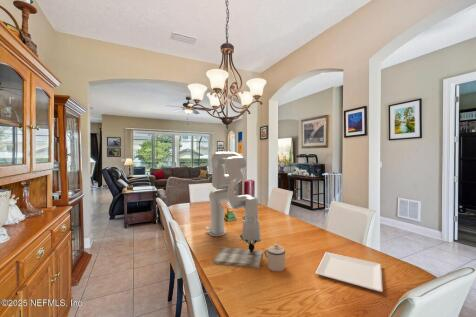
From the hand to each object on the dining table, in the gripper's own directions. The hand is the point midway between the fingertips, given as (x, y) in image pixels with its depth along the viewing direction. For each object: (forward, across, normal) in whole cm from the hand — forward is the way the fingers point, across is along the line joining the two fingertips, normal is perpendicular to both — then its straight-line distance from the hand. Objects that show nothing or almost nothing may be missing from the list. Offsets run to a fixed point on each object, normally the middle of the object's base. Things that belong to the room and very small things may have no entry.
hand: (251, 250), depth 124 cm
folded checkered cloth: (+2, -6, -1) cm, 6 cm away
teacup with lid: (+2, +13, -12) cm, 18 cm away
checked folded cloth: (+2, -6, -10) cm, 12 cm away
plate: (+2, +49, -10) cm, 50 cm away
